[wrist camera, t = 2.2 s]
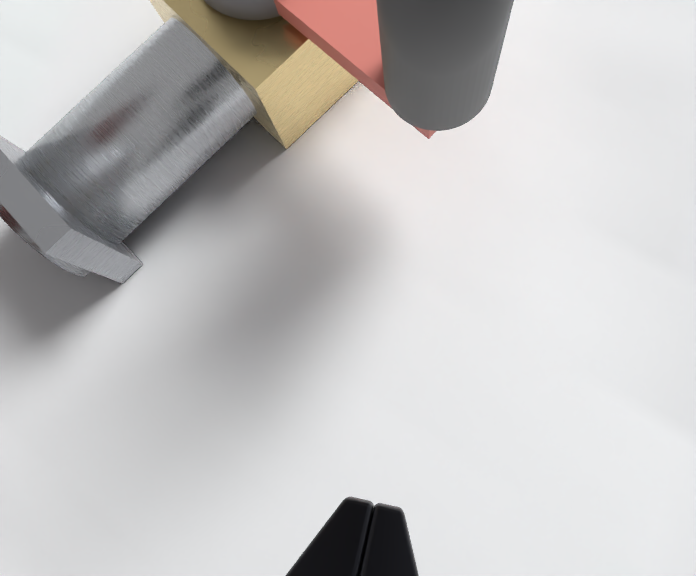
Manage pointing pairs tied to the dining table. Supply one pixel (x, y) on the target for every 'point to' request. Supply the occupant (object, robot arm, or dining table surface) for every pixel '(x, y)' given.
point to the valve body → (160, 130)
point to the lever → (403, 49)
